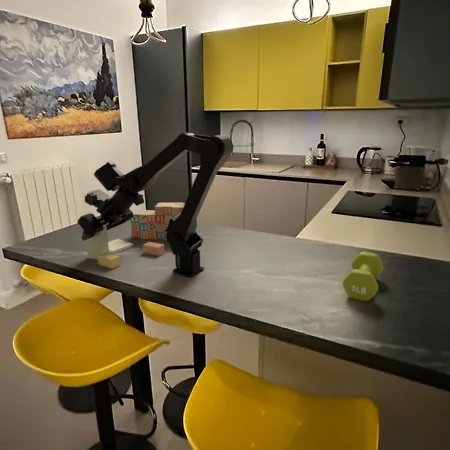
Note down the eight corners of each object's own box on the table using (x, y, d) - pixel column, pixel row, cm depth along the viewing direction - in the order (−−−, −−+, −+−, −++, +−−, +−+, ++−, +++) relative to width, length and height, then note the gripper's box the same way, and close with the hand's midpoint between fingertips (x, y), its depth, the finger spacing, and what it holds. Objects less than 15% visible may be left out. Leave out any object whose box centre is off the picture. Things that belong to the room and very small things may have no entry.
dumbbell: (351, 272, 95) (354, 248, 92) (382, 278, 91) (386, 253, 89) (339, 298, 81) (342, 270, 79) (375, 306, 77) (379, 278, 75)
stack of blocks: (131, 239, 121) (128, 205, 117) (137, 233, 127) (134, 201, 123) (190, 240, 119) (189, 207, 115) (193, 234, 125) (192, 202, 121)
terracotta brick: (164, 253, 108) (164, 244, 107) (159, 256, 106) (158, 247, 105) (149, 250, 111) (148, 241, 110) (143, 253, 108) (142, 244, 107)
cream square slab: (133, 247, 114) (132, 243, 113) (113, 255, 108) (113, 251, 107) (118, 242, 118) (117, 238, 118) (98, 250, 112) (97, 245, 111)
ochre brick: (120, 265, 99) (119, 256, 98) (112, 269, 97) (111, 259, 96) (107, 261, 102) (106, 252, 101) (98, 264, 100) (97, 255, 99)
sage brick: (109, 254, 107) (106, 224, 104) (99, 260, 103) (96, 229, 100) (97, 252, 108) (94, 223, 105) (88, 258, 104) (83, 227, 101)
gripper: (121, 176, 105) (97, 207, 112) (78, 187, 88) (52, 223, 95) (145, 203, 105) (119, 232, 112) (106, 219, 88) (78, 253, 95)
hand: (93, 234), depth 103 cm, fingers open, 9 cm apart
